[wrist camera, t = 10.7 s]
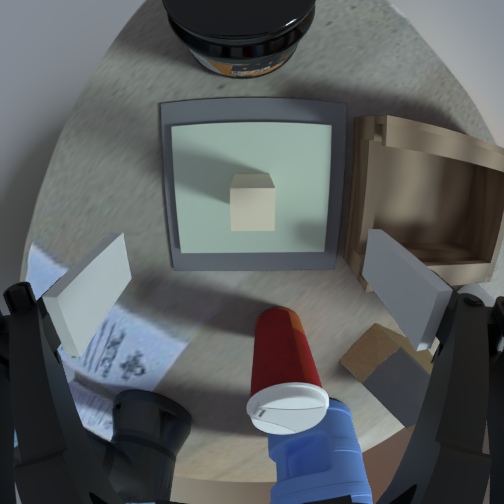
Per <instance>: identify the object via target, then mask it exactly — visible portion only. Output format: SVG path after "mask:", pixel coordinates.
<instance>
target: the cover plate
mask: <svg viewBox="0 0 504 504" xmlns="http://www.w3.org/2000/svg"><path fill="white" fill-rule="evenodd" d="M171 128H172V152H173V169H174V184H175V197H176V208H177V219H178V229H179V238H180V247H181V253H256V252H324V247H325V237H326V226H327V214H328V200H329V184H330V164H331V132H332V125H320V124H304V123H278V122H239V123H213V124H197V125H184V126H174V127H171Z"/></svg>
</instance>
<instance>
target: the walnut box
mask: <svg viewBox="0 0 504 504" xmlns="http://www.w3.org/2000/svg"><path fill="white" fill-rule="evenodd" d="M369 229H381V230H383V231H384V232H385V233H387V234H388V235H389V236H390V237H392V238H393V239H394V240H396V241H397V242H398V243H399V244H401V245H402V246H403V247H404V248H405V249H407V250H408V251H409V252H410V253H411V254H413V255H414V256H415V257H416V258H417V259H419V260H420V261H421V262H422V263H423V264H425V265H426V266H427V267H428V268H429V269H431V270H433V271H435V272H436V273H437V274H438V275H439V276H440V277H441V278H443V279H444V280H445V282H447V283H448V284H449V285H450V286H455V285H465V284H474V283H483V282H490V280H491V277H492V274H493V271H494V268H495V265H496V262H497V258H498V255H499V251H500V248H501V244H502V240H503V236H504V148H501V147H499V146H497V145H494V144H491V143H489V142H486V141H483V140H480V139H477V138H474V137H471V136H468V135H465V134H462V133H459V132H456V131H452V130H449V129H445V128H442V127H438V126H434V125H430V124H426V123H422V122H418V121H413V120H409V119H404V118H399V117H394V116H389V115H380V116H364V117H354V148H353V167H352V181H351V194H350V205H349V215H348V224H347V233H346V241H345V249H344V256H343V258H344V259H345V261H346V262H347V264H348V265H349V267H350V268H351V270H352V271H353V273H354V274H355V276H356V278H357V279H358V281H359V282H360V284H361V285H362V287H363V289H364V290H365V292H374V290H373V289H372V288H371V286H370V285H369V284H368V282H367V281H366V280H365V278H364V277H363V276H362V272H363V266H364V260H365V254H366V247H367V241H368V233H369Z"/></svg>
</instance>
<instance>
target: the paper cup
mask: <svg viewBox="0 0 504 504" xmlns="http://www.w3.org/2000/svg"><path fill="white" fill-rule="evenodd" d="M328 406H329V397H328V394H327V393H326V391H325V390H323V389H322V385H321V382H320V379H319V376H318V373H317V370H316V366H315V363H314V360H313V357H312V354H311V351H310V348H309V345H308V342H307V339H306V336H305V333H304V330H303V327H302V324H301V322H300V319H299V317H298V315H297V314H296V313H295V312H294V311H292V310H290V309H288V308H284V307H276V308H271V309H268V310H266V311H265V312H263V313H262V314H261V315H260V316H259V318H258V320H257V323H256V329H255V340H254V354H253V367H252V378H251V396H250V400H249V401H248V403H247V407H246V408H247V413H248V415H249V416H250V418H251V420H252V423H253V424H254V425H255V427H257V428H258V429H260V430H261V431H264V432H267V433H271V434H293V433H298V432H301V431H304V430H307V429H309V428H311V427H313V426H315V425H317V424H318V423H319V422H320V421H321V420H322V419H323V417H324V416H325V414H326V410H327V408H328Z"/></svg>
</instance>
